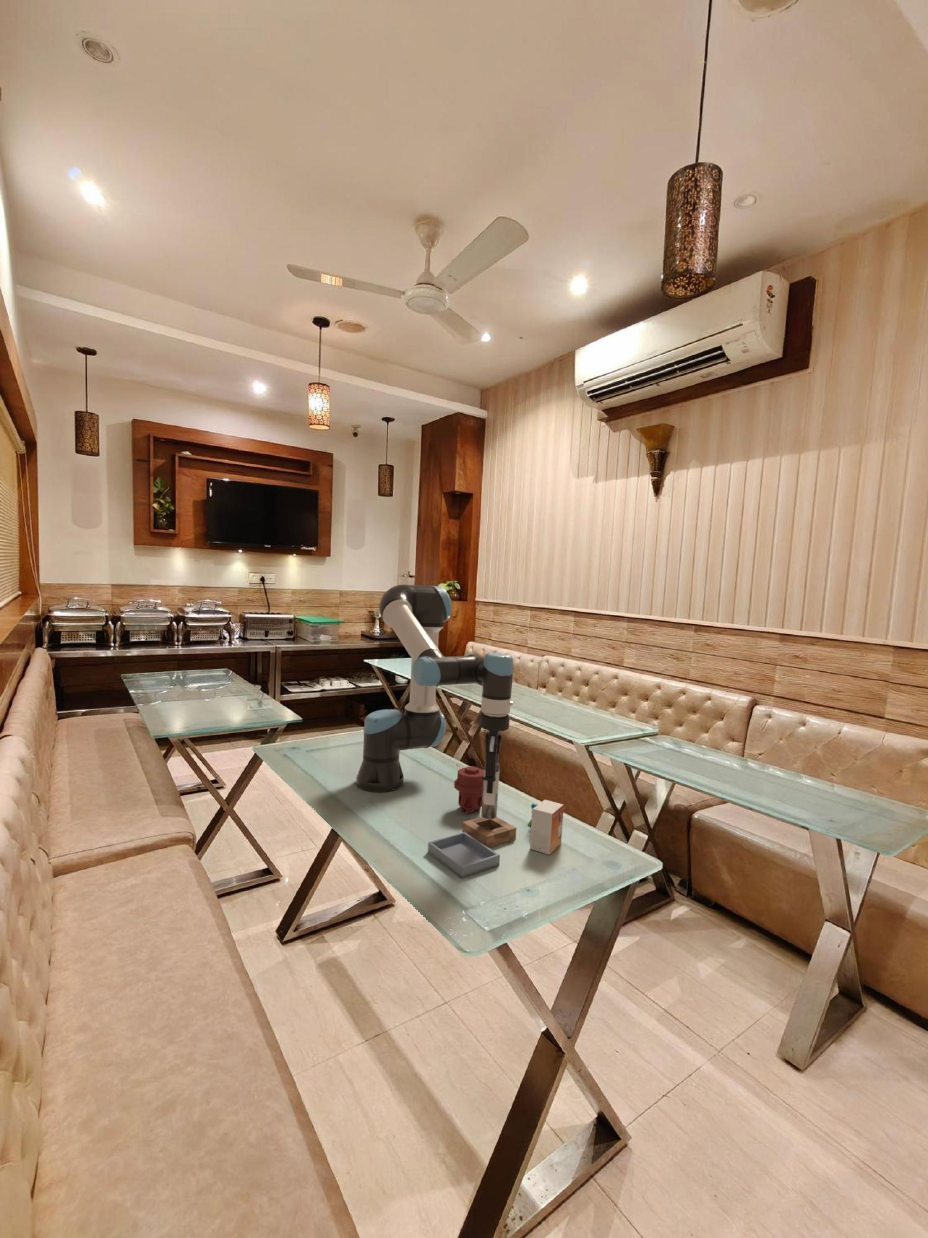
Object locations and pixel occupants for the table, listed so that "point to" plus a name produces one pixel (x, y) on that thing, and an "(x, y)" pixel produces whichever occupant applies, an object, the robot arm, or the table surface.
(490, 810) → the pin
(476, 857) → the tray
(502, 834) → the socket
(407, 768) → the table surface
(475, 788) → the mechanical component
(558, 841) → the small box
